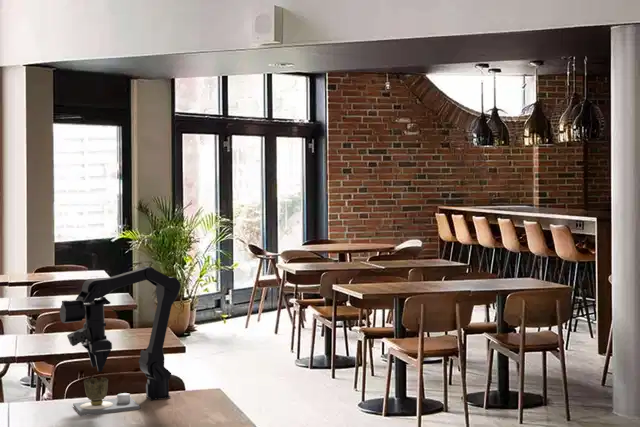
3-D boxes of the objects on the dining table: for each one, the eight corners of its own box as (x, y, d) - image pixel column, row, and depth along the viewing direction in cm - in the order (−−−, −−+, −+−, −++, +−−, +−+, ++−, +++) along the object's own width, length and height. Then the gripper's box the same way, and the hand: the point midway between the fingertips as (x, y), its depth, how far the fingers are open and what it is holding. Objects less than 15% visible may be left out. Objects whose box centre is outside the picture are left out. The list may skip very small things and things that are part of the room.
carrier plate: (130, 400, 310) (129, 389, 310) (140, 408, 297) (139, 397, 297) (73, 406, 303) (72, 395, 302) (80, 415, 290) (80, 404, 290)
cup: (112, 402, 302) (111, 376, 302) (104, 407, 295) (103, 381, 294) (89, 402, 303) (88, 376, 302) (81, 407, 295) (80, 381, 295)
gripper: (63, 318, 305) (65, 367, 306) (74, 325, 288) (76, 377, 289) (98, 315, 310) (100, 363, 311) (111, 322, 293) (113, 373, 294)
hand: (97, 369), depth 301 cm, fingers open, 9 cm apart
